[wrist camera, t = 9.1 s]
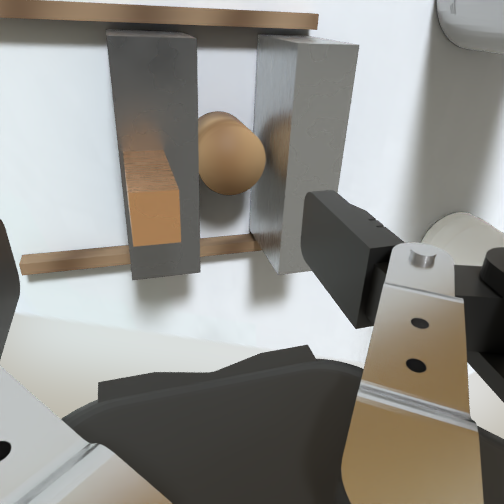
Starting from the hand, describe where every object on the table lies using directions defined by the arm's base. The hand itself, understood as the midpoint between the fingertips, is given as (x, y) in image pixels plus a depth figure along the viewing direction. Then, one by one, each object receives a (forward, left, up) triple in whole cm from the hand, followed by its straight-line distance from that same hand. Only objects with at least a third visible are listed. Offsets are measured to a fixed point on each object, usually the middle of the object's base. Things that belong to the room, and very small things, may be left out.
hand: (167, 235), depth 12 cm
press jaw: (-1, +4, -24) cm, 24 cm away
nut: (-7, +4, -24) cm, 25 cm away
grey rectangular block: (-12, +4, -24) cm, 27 cm away
